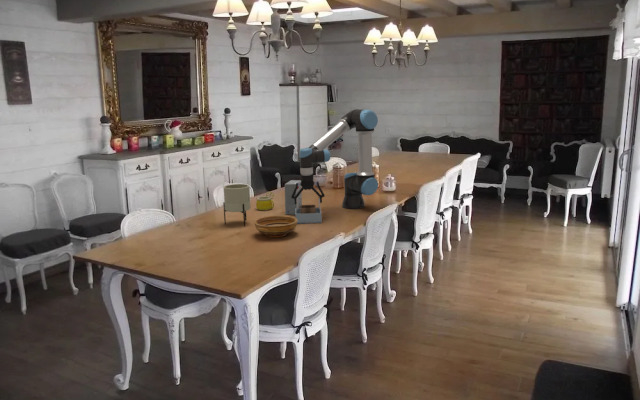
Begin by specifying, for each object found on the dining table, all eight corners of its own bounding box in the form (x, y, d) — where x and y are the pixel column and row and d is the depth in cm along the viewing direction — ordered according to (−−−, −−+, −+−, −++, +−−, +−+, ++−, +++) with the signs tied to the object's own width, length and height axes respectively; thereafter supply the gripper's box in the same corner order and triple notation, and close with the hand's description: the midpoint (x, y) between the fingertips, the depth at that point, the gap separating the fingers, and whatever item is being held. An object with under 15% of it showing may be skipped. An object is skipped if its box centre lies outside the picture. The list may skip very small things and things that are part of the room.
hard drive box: (296, 215, 341) (295, 184, 337) (285, 214, 343) (283, 184, 339) (302, 209, 356) (301, 180, 352) (291, 209, 358) (290, 179, 353)
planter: (256, 221, 328) (254, 184, 323) (242, 227, 314) (240, 189, 309) (235, 219, 334) (233, 183, 329) (220, 225, 320) (218, 187, 315)
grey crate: (320, 216, 335) (320, 207, 334) (321, 222, 320) (321, 213, 319) (295, 217, 335) (295, 208, 333) (295, 223, 319) (295, 214, 318)
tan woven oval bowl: (279, 244, 280) (279, 229, 278) (242, 238, 291) (241, 224, 290) (308, 230, 305) (308, 216, 303) (273, 225, 316) (273, 212, 315)
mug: (253, 210, 357) (252, 192, 354) (261, 207, 367) (260, 189, 364) (270, 211, 352) (269, 193, 350) (277, 208, 362) (277, 190, 360)
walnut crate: (315, 217, 332) (315, 204, 330) (315, 220, 323) (315, 207, 321) (300, 217, 331) (300, 205, 330) (301, 221, 323) (300, 208, 321)
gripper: (327, 172, 325) (328, 206, 330) (286, 174, 325) (288, 208, 329) (327, 174, 318) (329, 209, 323) (286, 176, 317) (288, 211, 322)
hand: (308, 208), depth 326 cm, fingers open, 13 cm apart
